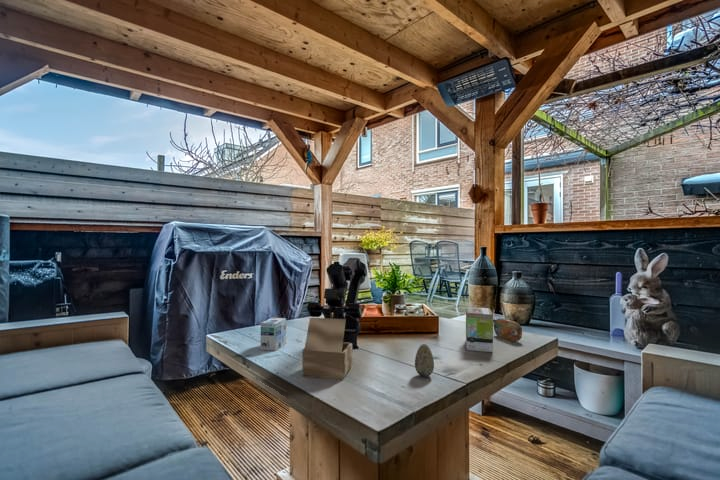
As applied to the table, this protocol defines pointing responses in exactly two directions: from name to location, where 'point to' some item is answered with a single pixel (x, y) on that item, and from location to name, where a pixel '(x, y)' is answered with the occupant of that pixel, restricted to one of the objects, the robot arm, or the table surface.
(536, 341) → the table surface
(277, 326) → the light bulb box
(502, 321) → the tin
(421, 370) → the decorative egg
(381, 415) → the table surface
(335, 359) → the carton
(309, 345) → the carton flap
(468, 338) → the tea box
